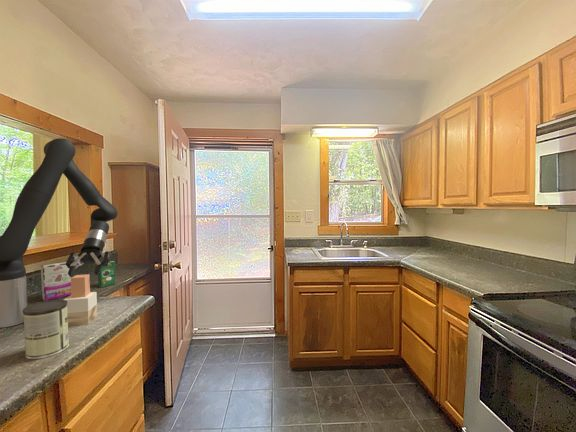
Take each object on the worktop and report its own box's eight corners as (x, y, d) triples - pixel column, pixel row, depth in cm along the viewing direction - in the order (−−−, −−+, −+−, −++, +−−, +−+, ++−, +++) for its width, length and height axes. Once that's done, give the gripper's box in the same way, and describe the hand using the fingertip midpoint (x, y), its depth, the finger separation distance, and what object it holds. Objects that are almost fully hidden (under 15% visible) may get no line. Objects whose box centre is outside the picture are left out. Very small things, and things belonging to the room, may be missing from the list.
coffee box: (113, 283, 159) (112, 260, 158) (116, 284, 157) (115, 261, 157) (98, 287, 151) (97, 263, 151) (101, 287, 150) (100, 263, 150)
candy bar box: (70, 293, 141) (69, 261, 140) (73, 295, 138) (72, 262, 137) (41, 299, 132) (40, 265, 132) (44, 301, 129) (42, 266, 128)
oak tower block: (88, 324, 104) (88, 311, 104) (63, 326, 103) (63, 313, 102) (97, 316, 112) (97, 304, 112) (74, 318, 110) (74, 305, 110)
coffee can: (21, 351, 85) (19, 306, 84) (64, 339, 93) (62, 297, 92) (28, 364, 78) (25, 314, 78) (73, 349, 86) (71, 304, 86)
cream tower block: (88, 311, 104) (87, 298, 104) (63, 313, 102) (62, 300, 102) (96, 304, 112) (96, 291, 112) (73, 306, 110) (73, 293, 110)
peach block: (85, 296, 106) (84, 277, 105) (71, 297, 105) (70, 278, 104) (90, 293, 110) (89, 274, 110) (76, 294, 109) (76, 275, 108)
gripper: (72, 237, 115) (57, 271, 105) (110, 236, 119) (100, 269, 108) (78, 248, 121) (66, 281, 110) (115, 246, 124) (106, 279, 114)
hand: (83, 275), depth 109 cm, fingers open, 8 cm apart
